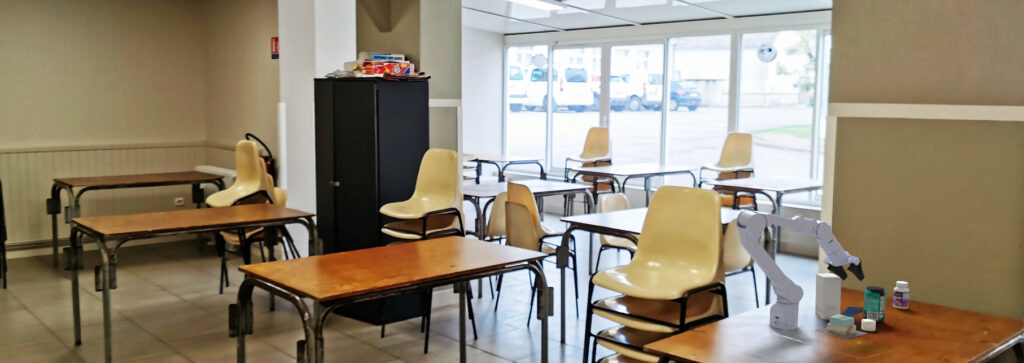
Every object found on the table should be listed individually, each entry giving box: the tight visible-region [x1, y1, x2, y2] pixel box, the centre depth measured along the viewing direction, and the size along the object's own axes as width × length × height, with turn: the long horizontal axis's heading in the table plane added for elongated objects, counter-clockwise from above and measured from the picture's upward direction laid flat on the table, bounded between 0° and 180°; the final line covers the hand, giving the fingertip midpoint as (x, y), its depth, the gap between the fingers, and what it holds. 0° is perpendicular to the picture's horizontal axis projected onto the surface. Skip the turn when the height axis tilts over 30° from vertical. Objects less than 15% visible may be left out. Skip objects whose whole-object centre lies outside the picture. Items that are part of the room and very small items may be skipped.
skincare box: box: [814, 272, 842, 320], centre depth 297 cm, size 8×7×16 cm
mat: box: [814, 326, 868, 340], centre depth 277 cm, size 12×12×1 cm
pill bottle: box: [892, 280, 910, 310], centre depth 314 cm, size 5×5×10 cm
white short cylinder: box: [860, 318, 877, 332], centre depth 281 cm, size 4×4×4 cm
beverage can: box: [862, 285, 887, 324], centre depth 293 cm, size 7×7×12 cm
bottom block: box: [826, 322, 857, 336], centre depth 277 cm, size 6×6×2 cm
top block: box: [829, 313, 855, 328], centre depth 277 cm, size 6×6×2 cm
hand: (854, 278), depth 287 cm, fingers open, 7 cm apart
